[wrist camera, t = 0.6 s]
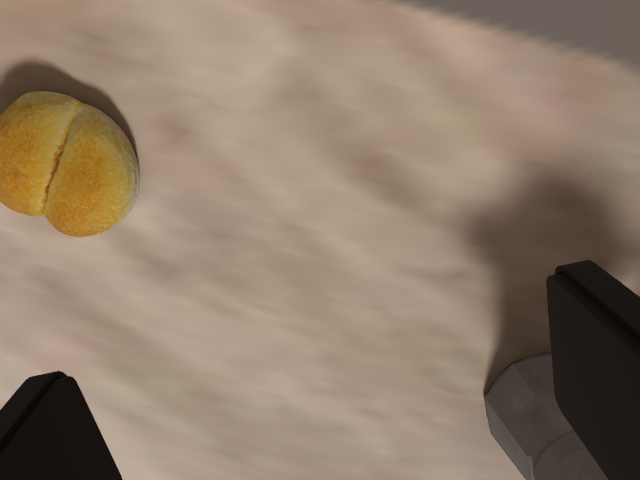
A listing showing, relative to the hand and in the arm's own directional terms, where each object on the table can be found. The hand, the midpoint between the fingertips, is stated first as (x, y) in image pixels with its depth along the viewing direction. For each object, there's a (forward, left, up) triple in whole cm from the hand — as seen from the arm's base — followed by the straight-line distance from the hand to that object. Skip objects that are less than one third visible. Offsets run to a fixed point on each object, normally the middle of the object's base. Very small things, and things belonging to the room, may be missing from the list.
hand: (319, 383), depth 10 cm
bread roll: (-14, +7, -25) cm, 29 cm away
